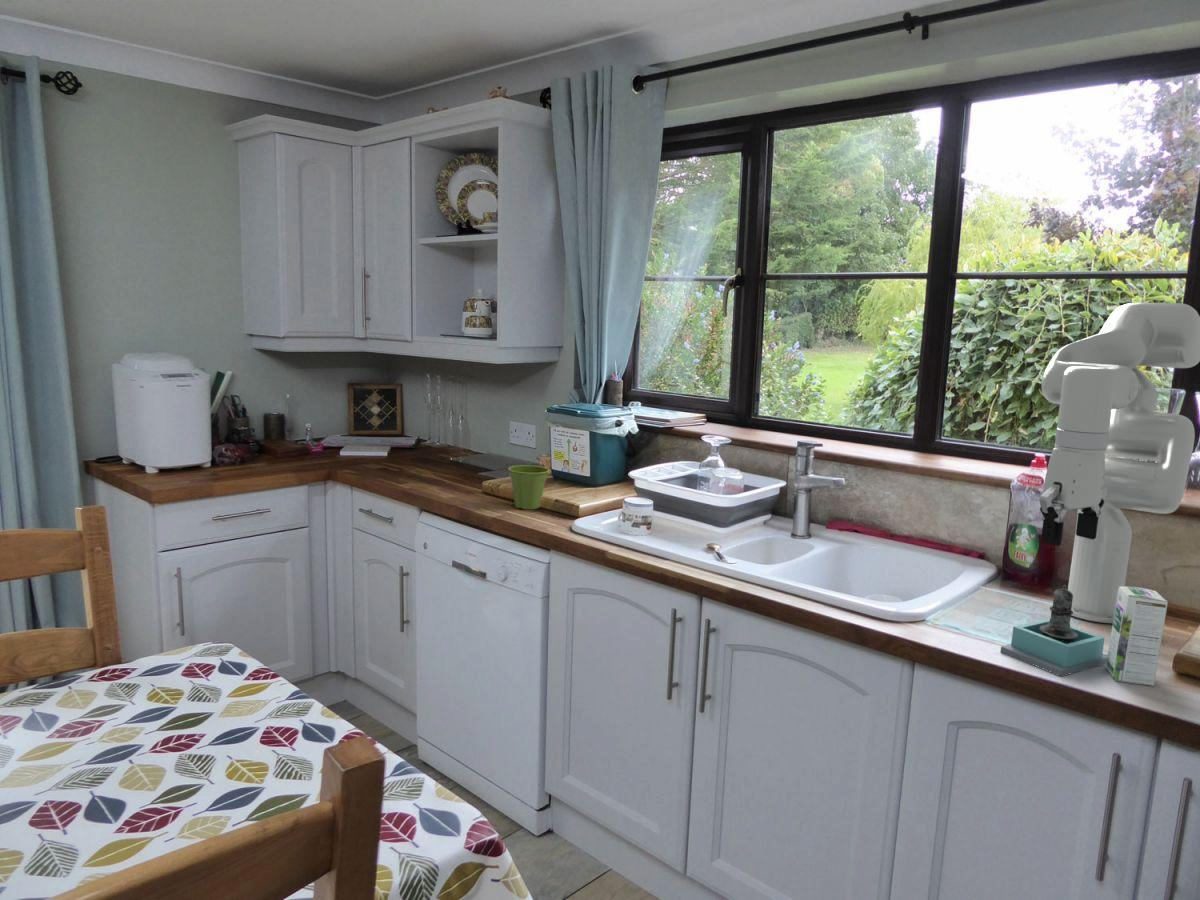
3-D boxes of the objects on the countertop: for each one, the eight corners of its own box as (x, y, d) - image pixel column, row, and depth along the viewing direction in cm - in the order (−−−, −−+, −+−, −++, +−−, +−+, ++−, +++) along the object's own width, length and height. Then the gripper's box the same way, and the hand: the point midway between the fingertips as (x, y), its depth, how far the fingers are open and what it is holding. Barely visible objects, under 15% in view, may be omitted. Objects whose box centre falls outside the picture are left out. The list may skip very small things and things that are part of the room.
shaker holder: (1050, 639, 152) (1053, 615, 152) (1111, 662, 143) (1114, 637, 142) (1000, 651, 146) (1003, 627, 145) (1060, 676, 136) (1064, 650, 136)
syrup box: (1104, 667, 141) (1116, 584, 138) (1144, 673, 139) (1157, 589, 137) (1114, 681, 135) (1126, 595, 133) (1156, 687, 134) (1169, 600, 131)
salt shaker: (1061, 644, 147) (1071, 579, 145) (1082, 658, 142) (1092, 590, 140) (1029, 644, 147) (1038, 578, 145) (1049, 657, 141) (1058, 589, 139)
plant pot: (523, 513, 233) (524, 474, 231) (499, 505, 242) (500, 467, 240) (556, 508, 240) (558, 470, 239) (532, 500, 249) (533, 463, 247)
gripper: (1089, 435, 147) (1077, 529, 149) (1027, 440, 138) (1016, 540, 141) (1133, 441, 140) (1120, 540, 143) (1071, 447, 132) (1058, 552, 135)
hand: (1068, 540), depth 142 cm, fingers open, 9 cm apart
